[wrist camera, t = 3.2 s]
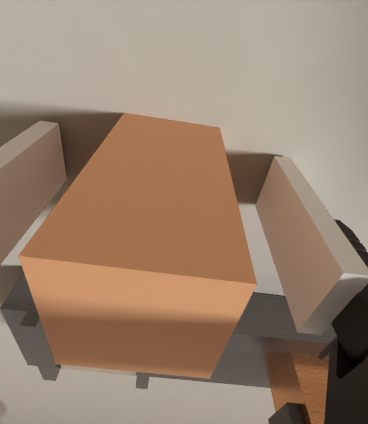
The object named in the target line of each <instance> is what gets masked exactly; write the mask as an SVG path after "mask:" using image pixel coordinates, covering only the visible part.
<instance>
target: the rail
mask: <svg viewBox="0 0 368 424" xmlns="http://www.w3.org/2000/svg"><path fill="white" fill-rule="evenodd" d="M0 309H1V311H2V313H3V315H4V318H5V320H6V322H7V324H8V326H9V328H10V330H11V332H12V334H13V336H14V338H15V340H16V342H17V344H18V346H19V348H20V350H21V352H22V354H23V356H24V358H25V360H26V362H27V364H28V365H33V366H38V368H39V370H40V373H41V375H42V377H43V379H44V380H54V381H56V378H57V376H58V373H59V370H60V368H62V369H72V370H82V371H93V372H103V373H114V374H125V375H135V376H136V375H137V381H136V388H142V389H147V388H148V381H149V376H150V377H161V378H171V379H182V380H193V381H203V382H214V383H224V384H235V385H246V386H256V387H267V388H271V392H272V397H273V401H274V406H275V411H276V413H275V414H274V415H273V416H271V417H270V418H269V419H268V420H269V424H324V418H325V405H326V392H327V379H328V366H329V364H328V361H329V354H330V353H329V354H328V355H327V356H326V357H325V358H324V359H323V360H321V359H319V358H318V357H319V355H320V352H321V351H322V350H323V349H324V348H325V347H326V346H327V345H328V344H329V343H330V342H331V341H332V340H333V339H334V338H335V337H336V336H337V335H336V333H335V331H334V328H333V326H332V324H331V325H330V326H329V327H328V328H327V329H326V331H325V332H324V333H323V334H322V335H317V334H308V333H299V332H297V330H296V327H295V324H294V321H293V318H292V315H291V312H290V309H289V306H288V303H287V300H286V297H285V296H277V295H269V294H260V293H252V295H251V297H250V299H249V301H248V303H247V305H246V307H245V309H244V311H243V313H242V315H241V317H240V319H239V321H238V323H237V325H236V327H235V329H234V331H233V333H232V335H231V337H230V339H229V341H228V343H227V345H226V347H225V349H224V351H223V353H222V355H221V357H220V359H219V361H218V363H217V365H216V367H215V369H214V371H213V373H212V375H211V377H210V379H207V378H196V377H186V376H175V375H165V374H154V373H144V372H133V371H123V370H112V369H102V368H91V367H81V366H70V365H60V364H55V361H54V358H53V355H52V352H51V349H50V347H49V344H48V341H47V338H46V335H45V332H44V329H43V326H42V323H41V320H40V317H39V314H38V312H37V309H36V306H35V303H34V300H33V297H32V294H31V291H30V288H29V285H28V282H27V280H26V277H25V274H23V275H22V277H21V278H20V280H19V281H18V283H17V284H16V286H15V287H14V289H13V290H12V292H11V293H10V295H9V296H8V297H7V299H6V300H5V302H4V303H3V305H2V306H1V308H0Z"/></svg>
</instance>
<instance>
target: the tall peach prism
mask: <svg viewBox="0 0 368 424" xmlns="http://www.w3.org/2000/svg"><path fill="white" fill-rule="evenodd" d="M19 259H20V262H21V265H22V268H23V271H24V274H25V277H26V280H27V282H28V285H29V288H30V291H31V294H32V297H33V300H34V303H35V306H36V309H37V312H38V314H39V317H40V320H41V323H42V326H43V329H44V332H45V335H46V338H47V341H48V344H49V347H50V349H51V352H52V355H53V358H54V361H55V364H60V365H70V366H81V367H91V368H102V369H112V370H123V371H133V372H144V373H154V374H165V375H175V376H186V377H196V378H207V379H210V377H211V375H212V373H213V371H214V369H215V367H216V365H217V363H218V361H219V359H220V357H221V355H222V353H223V351H224V349H225V347H226V345H227V343H228V341H229V339H230V337H231V335H232V333H233V331H234V329H235V327H236V325H237V323H238V321H239V319H240V317H241V315H242V313H243V311H244V309H245V307H246V305H247V303H248V301H249V299H250V297H251V295H252V293H253V291H254V289H255V287H256V285H257V283H256V279H255V274H254V270H253V266H252V262H251V258H250V253H249V249H248V245H247V241H246V236H245V232H244V228H243V224H242V220H241V215H240V211H239V207H238V203H237V198H236V194H235V190H234V186H233V182H232V177H231V173H230V169H229V165H228V161H227V156H226V152H225V148H224V144H223V139H222V135H221V131H220V128H217V127H211V126H205V125H198V124H192V123H185V122H179V121H173V120H166V119H160V118H154V117H147V116H141V115H134V114H128V113H124V114H123V115H122V117H121V118H120V119H119V121H118V122H117V123H116V125H115V126H114V127H113V129H112V130H111V131H110V133H109V134H108V135H107V137H106V138H105V139H104V141H103V142H102V144H101V145H100V146H99V148H98V149H97V150H96V152H95V153H94V154H93V156H92V157H91V158H90V160H89V161H88V162H87V164H86V165H85V167H84V168H83V169H82V171H81V172H80V173H79V175H78V176H77V177H76V179H75V180H74V181H73V183H72V184H71V185H70V187H69V188H68V190H67V191H66V192H65V194H64V195H63V196H62V198H61V199H60V200H59V202H58V203H57V204H56V206H55V207H54V208H53V210H52V211H51V212H50V214H49V215H48V217H47V218H46V219H45V221H44V222H43V223H42V225H41V226H40V227H39V229H38V230H37V231H36V233H35V234H34V235H33V237H32V238H31V240H30V241H29V242H28V244H27V245H26V246H25V248H24V249H23V250H22V252H21V253H20V254H19Z"/></svg>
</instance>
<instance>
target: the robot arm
mask: <svg viewBox="0 0 368 424" xmlns="http://www.w3.org/2000/svg"><path fill="white" fill-rule="evenodd" d="M66 180H67V177H66V170H65V163H64V156H63V149H62V142H61V136H60V129H59V123H53V122H46V121H39V122H37V123H36V124H34V125H33V126H31V127H30V128H28V129H27V130H25V131H24V132H22V133H21V134H19V135H18V136H16V137H15V138H13V139H12V140H10V141H9V142H7V143H6V144H4V145H2V146H1V147H0V264H1V263H2V262H3V261H4V259H5V258H6V257H7V255H8V254H9V253H10V252H11V250H12V249H13V248H14V247H15V245H16V244H17V243H18V241H19V240H20V239H21V238H22V236H23V235H24V234H25V233H26V231H27V230H28V229H29V227H30V226H31V225H32V224H33V222H34V221H35V220H36V219H37V217H38V216H39V215H40V213H41V212H42V211H43V210H44V208H45V207H46V206H47V205H48V203H49V202H50V201H51V199H52V198H53V197H54V196H55V194H56V193H57V192H58V191H59V189H60V188H61V187H62V185H63V184H64V183H65V182H66ZM255 206H256V209H257V212H258V215H259V218H260V221H261V224H262V227H263V230H264V233H265V236H266V239H267V242H268V245H269V248H270V251H271V254H272V257H273V261H274V264H275V267H276V270H277V273H278V276H279V279H280V282H281V285H282V288H283V291H284V294H285V297H286V300H287V303H288V306H289V309H290V312H291V315H292V318H293V321H294V324H295V327H296V330H297V332H299V333H308V334H317V335H322V334H323V333H324V332H325V331H326V329H327V328H328V327H329V326H330V325H331V324H332V326H333V328H334V331H335V333H336V335H337V336H336V337H335V338H334V339H333V340H332V341H331V342H330V343H329V344H328V345H327V346H326V347H325V348H324V349H323V350H322V351H321V352H320V355H319V357H318V358H319V359H321V360H323V359H324V358H325V357H326V356H327V355H328V354H329V353H330V354H329V361H328V364H329V366H328V379H327V392H326V405H325V418H324V424H368V253H367V250H366V249H365V247H364V246H363V245H362V243H360V241H359V239H358V238H357V237H356V235H355V234H354V233H353V231H352V230H351V229H350V228H348V227H347V226H346V225H345V224H343V223H342V222H341V221H340V220H334V219H333V218H332V216H331V215H330V213H329V212H328V210H327V209H326V208H325V206H324V205H323V203H322V202H321V200H320V199H319V198H318V196H317V195H316V193H315V192H314V191H313V189H312V188H311V186H310V185H309V183H308V182H307V181H306V179H305V178H304V176H303V175H302V173H301V172H300V171H299V169H298V168H297V166H296V165H295V163H294V162H293V161H292V159H291V158H285V157H278V156H274V158H273V161H272V164H271V166H270V169H269V171H268V174H267V177H266V179H265V182H264V185H263V187H262V190H261V192H260V195H259V198H258V200H257V203H256V205H255Z"/></svg>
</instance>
